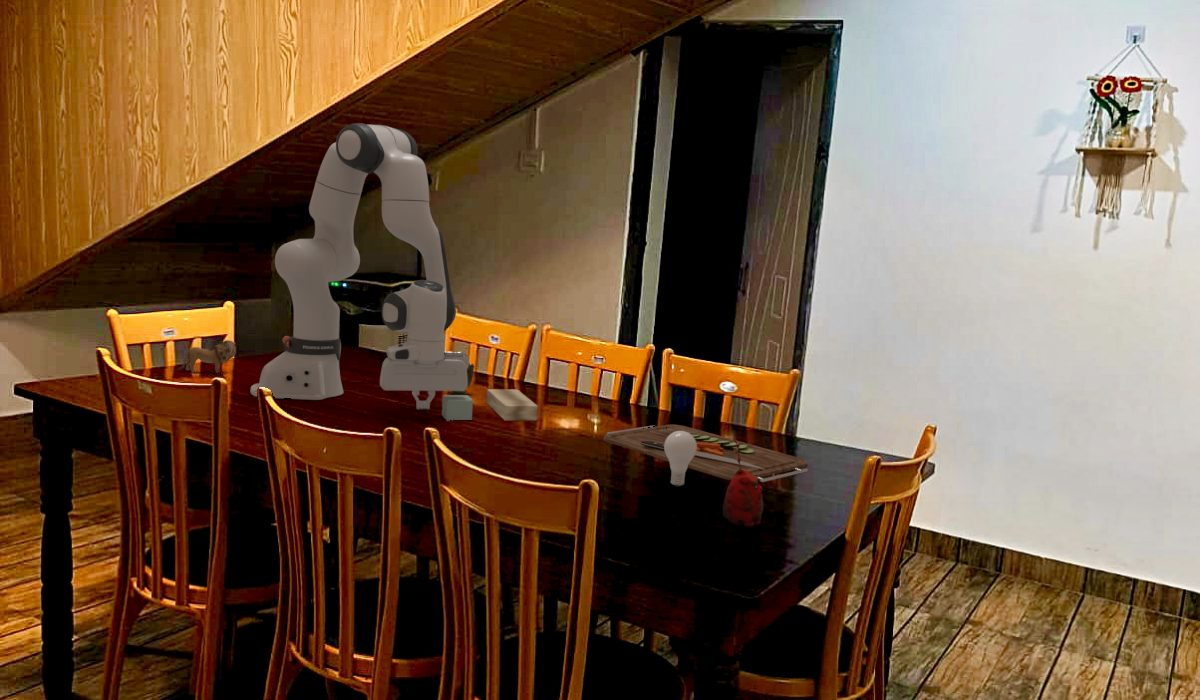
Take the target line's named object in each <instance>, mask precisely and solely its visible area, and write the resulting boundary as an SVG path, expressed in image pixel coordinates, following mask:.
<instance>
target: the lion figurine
mask: <svg viewBox="0 0 1200 700" xmlns="http://www.w3.org/2000/svg"><path fill="white" fill-rule="evenodd" d="M236 353H237V349H236V342H234V341H232V340H229V339H228V340H224V341H222V342H221V343H218V344H216V345H214V346H213V347H212V348H209V349H207V348H206V349H205V348H201V347H198V346H195V347H191V348H190V349H188V350H187V353H185V354H186V355H185V357H184V361H183V363H182V365H181V366H179V367H178V368H177V370H178V371H181V370H183V369H184V367H185V370H186V371H189V370H190V369H191V370H190V371H191V372H192V373H193V372H197V371H198V370H196V369H195V365H196V363H197V360H200V361H201V362H203V363H206V364H214V366H215V368H214V369H215V374H216V373H218V372H220V369H221V364H226V363H228V361H229V360H230V359H232V358H234V357H235V356H236ZM188 358H189V359H188ZM187 360H188V361H187Z"/></svg>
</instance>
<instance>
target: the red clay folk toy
mask: <svg viewBox="0 0 1200 700" xmlns="http://www.w3.org/2000/svg"><path fill="white" fill-rule="evenodd" d="M733 440H734V441H735V443H736V447H737V448H734V453H735V454H737V452H738V459H737V461H738V463H739V470H738V471H737V472H736V474H735V476H734V477H733V479H732V480H730V483H729V484H728V486H727V489H726V492H725V497H724V499H723V502H722V503H723V504H722V515H723V518H725V519H726V520H727V521H729V523H731V524H733V525H736V526H739V527H740V526H744V527H745V528H749V527H750V528H752V527H754V526H757V525H760V524H761V521H762V514H763V512H764V501H763V497H764V496H763V494H762V492H763V487H762V486H761V485H760V484H759V479H758V478H757V477H756V476H753V475H751V472H749V471H744V470H742V469H741V465H740V460H741V459H742V458H740V456H739V446H740V445H741V444H743V442H744V441H741V442H742V443H741V444H738V443H737V441H738V440H736V438H735V437H734V438H733ZM731 446H735V445H731Z"/></svg>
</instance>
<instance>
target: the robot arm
mask: <svg viewBox="0 0 1200 700" xmlns="http://www.w3.org/2000/svg"><path fill="white" fill-rule="evenodd" d="M418 153H419V152H418V145H417V142H416V140H415V138H414V137H413V136H412V135H411V134H409V133H408V132H407V131H404V130H402V129H399V128H394V127H390V126H388V125H383V124H365V123H362V122H361V123H360V122H359V123H358V122H356V123H352V124H348V125H346V126H344V127H342V129H340V131H339V133H338V134H337V137H336V140H335V142H334V143H332V144H331V145H330V146H329V148H328V149H327V151H326V153H325V155H324V157H323V159H322V162H321V164H320V166H319V169H318V172H317V173H318V174H317V176H316V178H315V179H316V180H315V183H314V188H313V190H312V194H311V198H310V202H309V206H308V211H309V214H310V216H311V218H312V219H313V221H314V236H313V238H298V239H294V240H291V241H289V242H287V243H283V244H282V245H281V246H280V247H279V248H278V249H277V251H276V253H275V257H274V265H275V266H274V267H275V269H276V271H277V274H278V275H279V276H280V277H281V279H283V281H284V282H285V283H286V285H287V288H288V290H289V293H290V296H291V300H292V306H293V307H292V308H293V335H292V336H289V335H285V336H284V337H282V339H281V340H282V343H283V344H284V352H282V353H281V354H279V355H277V357H275V358H273V359H272V360H271V361H269V362H267V363H266V364H265V365H264V366H263V368H262V370H261V373H260V378H259V383H254V384H253V385H251V387H250V394H251V395H252V396H254V397H256V398H258V397H257V389H258V387H265V388H268V389H270V390H271V391H272V393H273V396H274V397H275V398H274V399H284V398H291V399H292V400H310V401H319V400H324V399H327V398H332V397H337V396H341V395H343V394H344V389H343V384H342V380H341V374H340V360H341V354H342V353H341V350H342V342H341V338H340V316H341V315H340V314H341V313H340V312H341V309H340V307H339V305H338V304H337V302H336V301H335V300H333V297H332V295H331V291H330V288H329V283H332V282H339V281H343V280H345V279H347V278H349V277H352V276H353V275H354V274H356V272H357V271H358V269H359V267H360V262H361V257H360V253H359V250H358V248H357V246H356V244H355V240H354V238H355V237H354V225H355V218H356V215H357V212H358V211H357V210H358V206H359V203H360V200H361V195H362V192H363V188H364V184H365V180H366V177H367V176H368V175H370V174H372V173H374V174H375V175H376V176H377V177H378V178H379V180H380V182H381V217H382V221H383V224H384V227H386V230H388V232H390V234H392V236H394V237H396V238H397V239H399V240H401V241H402V242H403V241H404V242H405V243H408V244H410V245H411V246H412V247H414V248H416V249H417V250H418V251H419V252H420V254H421V256H422V259H423V263H424V270H425V278H426V280H425V279H418V280H415V281H413V282H412V283H410V286H409V287H407V288H404V289H401V290H399V291H394V292H390V293H389V294H388V295H387V296H386V297H385V298H384V300H383V302H382V304H381V309H380V310H381V312H380V313H381V318H382V322H383V323H384V325H385V326H386V328H387V329H389V330H390V331H393V332H398V333H399V332H400V333H403V332H404V333H406V332H407V336H406V341H405V342H401V343H398V344H394V345H390V346H388V347H387V348H386V355H387V357H386V358H385V359H384V361H383V362H382V366H381V371H380V376H379V386H380V387H381V388H382V390H383V391H404V392H405V391H411V394H412V396H413V398H414V400H415V401H416V405H415V406H416V407H415V408H416V410H430V409H431V407H430V406H431V402H432V400H433V399H434V398H435V396H436V391H437V392H443V391H444V392H452V391H464V390H465V389H466V390H467V388H468V387H467V386H468V380H467V369H468V367H469V363H470V358H469V356H468V355H467V354H466V353H464V351H450V350H446V334H445V332H446V331H447V330H448V329H449V328H450V326H452V324H453V322H454V320H455V319H456V315H457V309H456V303H455V300H454V296H453V294H452V289H451V283H450V277H449V270H448V262H447V255H446V254H447V253H446V249H445V242H444V238H443V235H442V231H441V229H440V228H439V226H438V225H436V224H435V222H434V219H433V217H432V213H431V209H430V208H431V207H430V189H429V187H430V186H429V180H428V174H427V167H426V163H425V162H424V160H423V159H422V158H421V157H419V156H418ZM425 391H426V392H427V394H428V397H427V398H426V400H420V399H419V397H418V396H420V392H425ZM291 399H290V400H291Z"/></svg>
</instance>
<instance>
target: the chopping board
mask: <svg viewBox="0 0 1200 700" xmlns="http://www.w3.org/2000/svg"><path fill="white" fill-rule="evenodd" d="M653 426H655V427H653ZM648 427H650V428H648ZM643 428H644V429H643ZM666 428H667V429H666ZM675 431H685V432H688V433H690V434H691V435H692V436H693V437H694V439H695V441H696V444H697V451H696V454H695V456H694V457H693V459H692V460H691V461H690V463H689V464H688V467H687V469H691V470H694V471H698V472H701V473H704V474H707V475H711V476H714V477H717V478H721V479H722V480H723V479H724V480H726V481H727V480H728V481H732V479H733V477H734V476H735V474H736V472H737V471H738V470H739V463H738V461H737V459H738V452H737V454H735V453H734V448H737V447H736V443H735V441H734V438H729V437H725V436H721V435H717V434H714V433H711V432H706V431H703V430H700V429H697V428H692V427H688V426H685V425H681V424H664V425H658V426H656V425H655V424H654V425H653V424H652V425H649V426H642V427H636V428H635V427H634V428H627V429H621V430H615V431H610V432H609V431H608V432H606V434H604V435H603V441H604V442H605V441H606V442H605V443H609V444H611V445H614V444H615V445H614V446H617V445H618V447H620V446H622V447H621V448H624V449H627V448H628V450H630V449H631V450H630V451H633V450H634V451H633V452H636V451H637V453H640V454H644V455H646V454H647V456H649V455H650V456H649V457H652V456H653V458H657V459H659V460H663V461H666V462H668V463H670V462H669V460H668V458H667V456H666V454H665V451H664V444H665V440H666V439H667V437H668V436H669V435H670V434H671V433H673V432H675ZM736 441H737V443H738V444H741V443H742V442H743V444H741V445H740V446H739V456H740V458H742V459H741V460H740V465H741V469H742V470H744V471H749V472H751V475H753V476H756V477H757V478H758V480H759V482H761V483H765V482H769V481H774V480H777V479H778V480H779V479H782V478H787V477H791V476H795V475H799V474H803V473H808V472H809V469H808V468H806V467H807V465H808V464H807V461H808V460H805V459H803V458H800V457H797V456H793V455H790V454H787V453H783V452H779V451H776V450H772V449H768V448H764V447H761V446H758V445H753V444H751V443H746V442H744V441H740V440H736ZM731 445H735V446H731ZM802 468H803V469H802ZM793 470H795V471H793ZM785 472H786V473H785ZM781 473H782V474H781ZM773 475H774V476H773ZM769 476H770V477H769ZM764 477H765V478H764Z"/></svg>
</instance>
